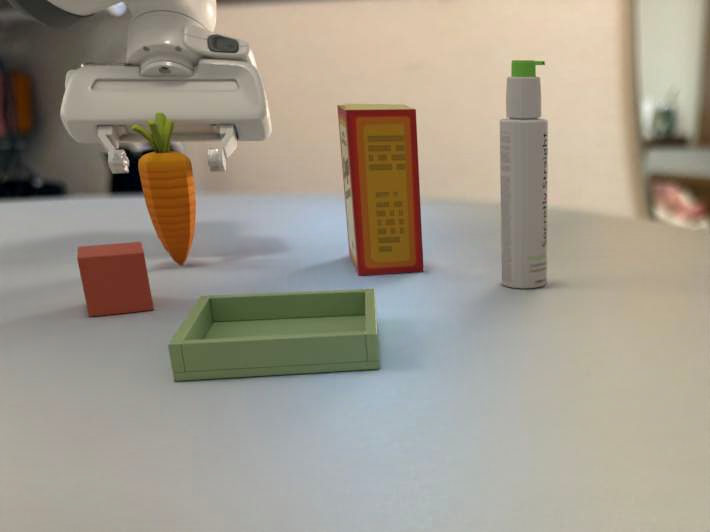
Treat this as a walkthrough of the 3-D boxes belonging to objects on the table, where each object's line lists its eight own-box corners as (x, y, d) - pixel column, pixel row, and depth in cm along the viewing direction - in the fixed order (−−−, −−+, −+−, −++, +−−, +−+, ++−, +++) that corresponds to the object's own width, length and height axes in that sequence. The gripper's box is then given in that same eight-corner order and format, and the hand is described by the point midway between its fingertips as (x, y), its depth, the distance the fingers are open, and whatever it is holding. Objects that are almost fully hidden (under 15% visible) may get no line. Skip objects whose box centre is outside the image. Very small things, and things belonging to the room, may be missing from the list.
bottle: (525, 291, 79) (524, 60, 72) (492, 283, 82) (488, 60, 75) (556, 283, 82) (558, 60, 75) (523, 275, 85) (522, 60, 78)
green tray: (173, 381, 57) (167, 344, 56) (205, 327, 68) (200, 295, 67) (379, 369, 59) (377, 333, 58) (376, 318, 71) (374, 288, 70)
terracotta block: (88, 317, 71) (76, 257, 69) (89, 302, 75) (77, 246, 73) (153, 310, 73) (143, 252, 71) (150, 296, 77) (141, 241, 75)
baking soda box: (349, 255, 93) (337, 101, 87) (408, 252, 95) (400, 100, 89) (358, 275, 85) (345, 105, 79) (423, 271, 87) (415, 105, 81)
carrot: (183, 271, 86) (158, 115, 80) (144, 267, 87) (117, 114, 82) (216, 261, 90) (195, 112, 85) (178, 258, 92) (155, 111, 86)
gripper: (55, 40, 87) (44, 149, 81) (264, 42, 90) (266, 146, 85) (78, 85, 92) (68, 190, 87) (273, 85, 96) (275, 186, 91)
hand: (168, 168), depth 86 cm, fingers open, 8 cm apart
